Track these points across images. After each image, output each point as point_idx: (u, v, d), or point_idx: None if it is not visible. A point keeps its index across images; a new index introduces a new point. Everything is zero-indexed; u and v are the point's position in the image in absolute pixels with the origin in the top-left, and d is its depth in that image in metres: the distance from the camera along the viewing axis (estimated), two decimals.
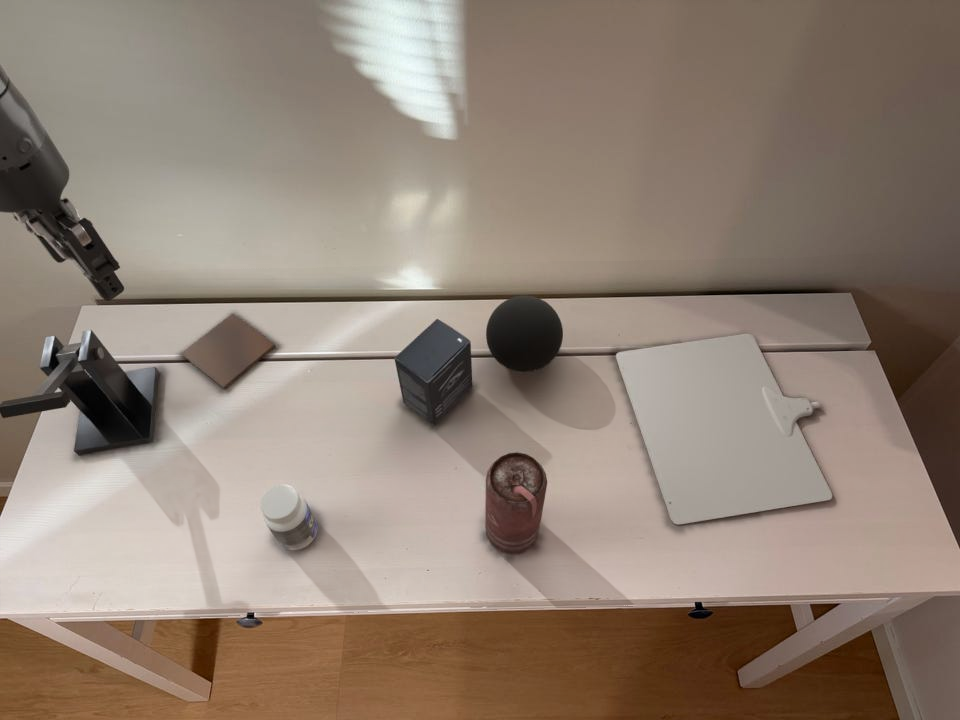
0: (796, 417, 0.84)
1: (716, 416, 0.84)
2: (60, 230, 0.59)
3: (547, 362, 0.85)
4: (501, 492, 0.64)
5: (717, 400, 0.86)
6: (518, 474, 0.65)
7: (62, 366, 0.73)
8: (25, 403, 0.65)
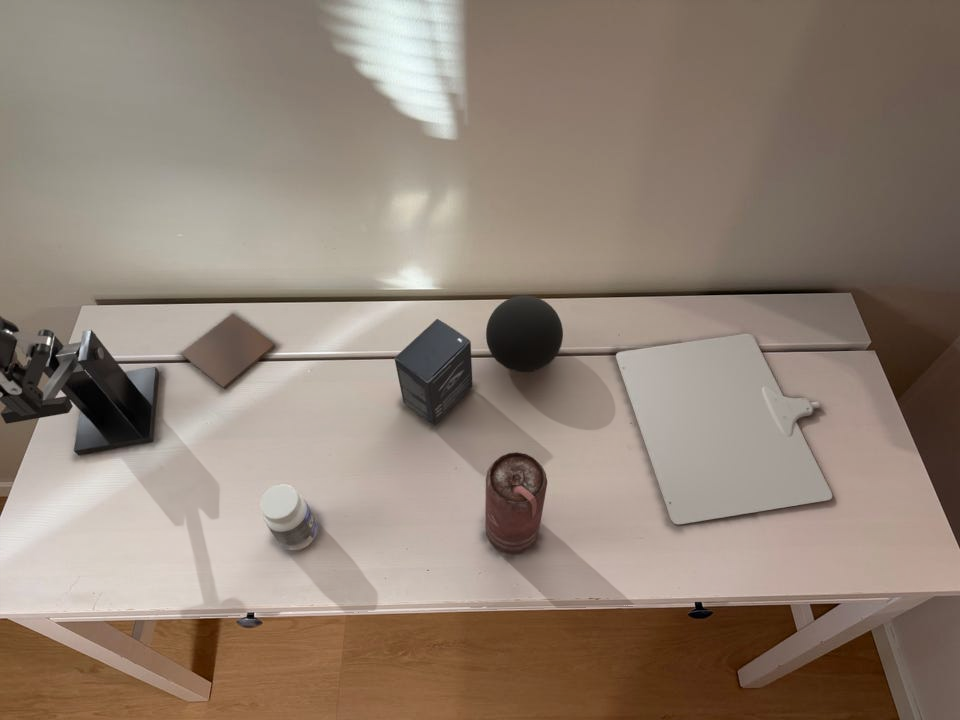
0: (796, 417, 0.84)
1: (716, 416, 0.84)
2: (15, 342, 0.58)
3: (547, 362, 0.85)
4: (501, 492, 0.64)
5: (717, 400, 0.86)
6: (518, 474, 0.65)
7: (63, 368, 0.73)
8: None
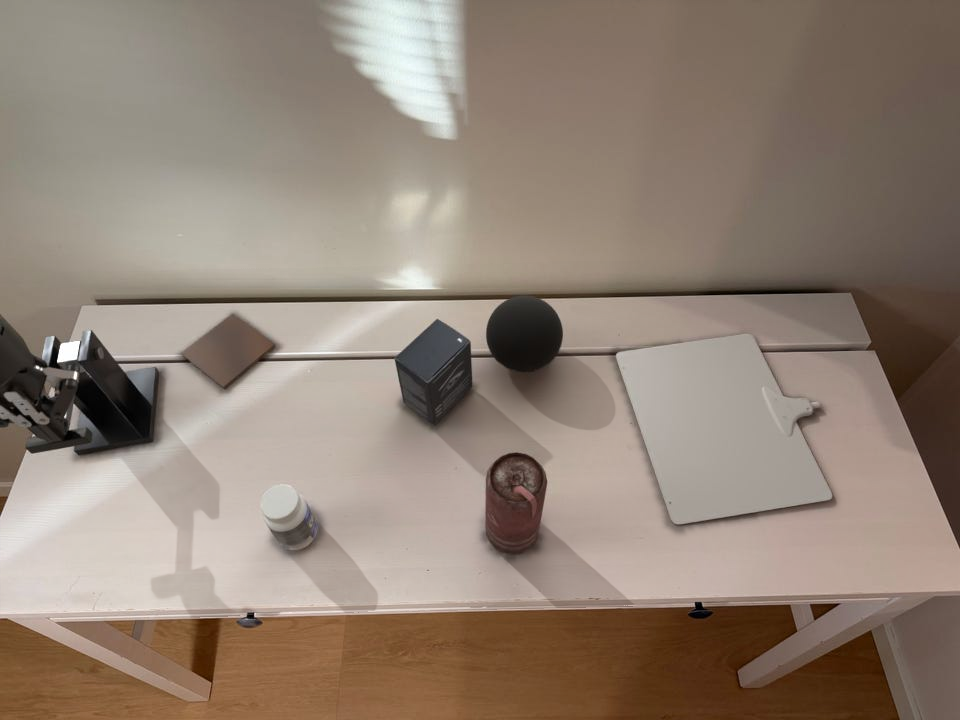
0: (796, 417, 0.84)
1: (716, 416, 0.84)
2: (45, 378, 0.61)
3: (547, 362, 0.85)
4: (501, 492, 0.64)
5: (717, 400, 0.86)
6: (518, 474, 0.65)
7: None
8: (51, 443, 0.69)
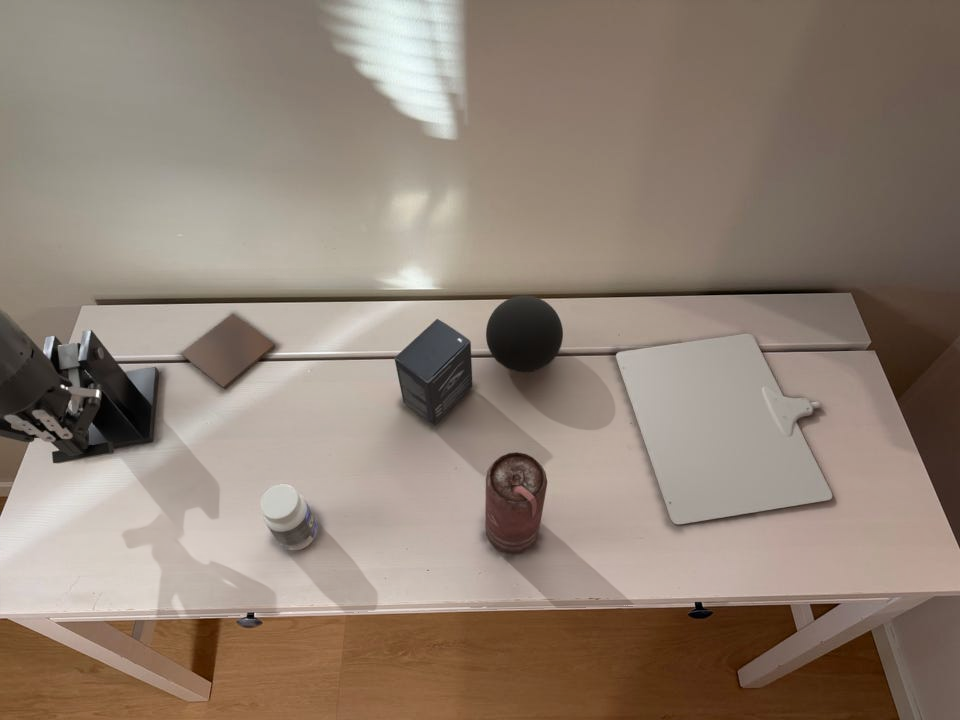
0: (796, 417, 0.84)
1: (716, 416, 0.84)
2: (70, 396, 0.65)
3: (547, 362, 0.85)
4: (501, 492, 0.64)
5: (717, 400, 0.86)
6: (518, 474, 0.65)
7: (75, 385, 0.75)
8: (77, 458, 0.74)
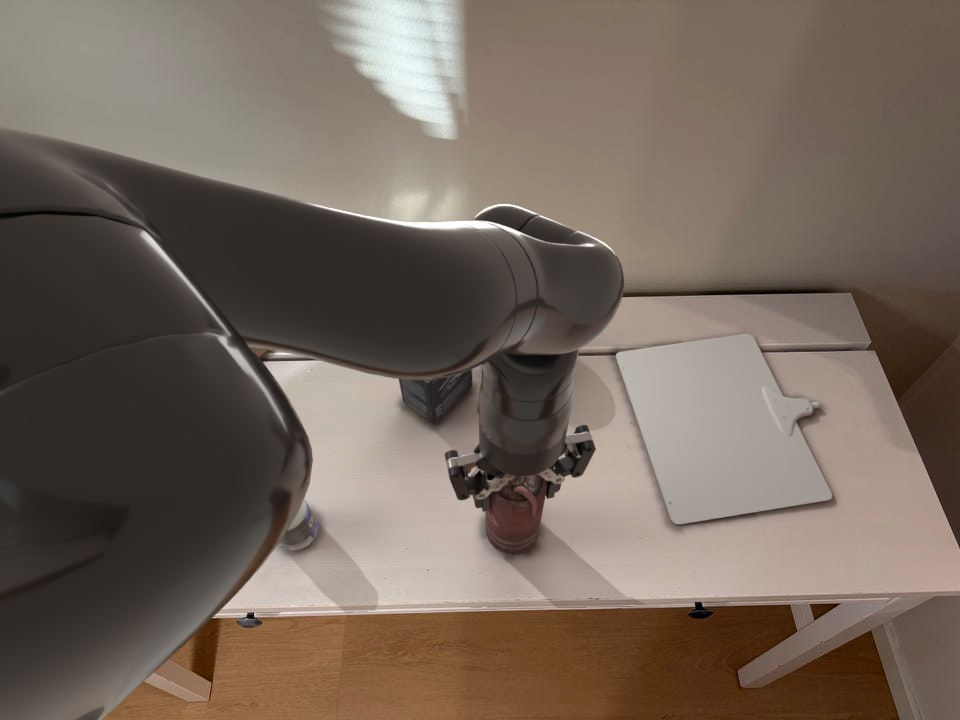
0: (796, 417, 0.84)
1: (716, 416, 0.84)
2: None
3: None
4: (501, 492, 0.64)
5: (717, 400, 0.86)
6: None
7: None
8: None
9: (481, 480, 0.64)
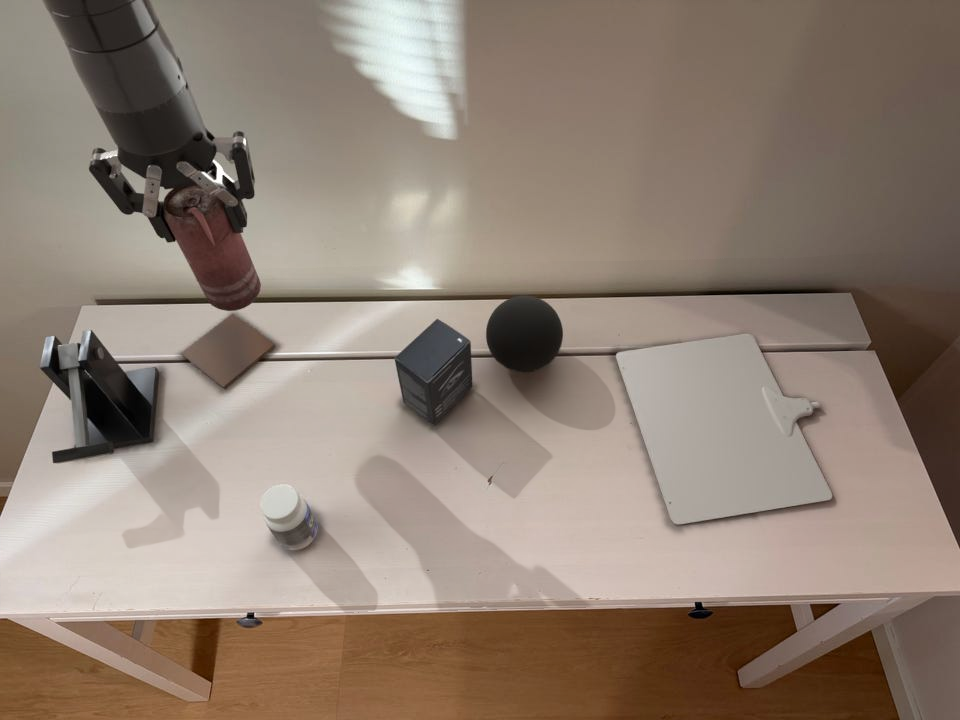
0: (796, 417, 0.84)
1: (716, 416, 0.84)
2: (215, 153, 0.60)
3: (547, 362, 0.85)
4: (173, 211, 0.64)
5: (717, 400, 0.86)
6: (195, 198, 0.65)
7: (75, 385, 0.75)
8: (77, 458, 0.74)
9: None
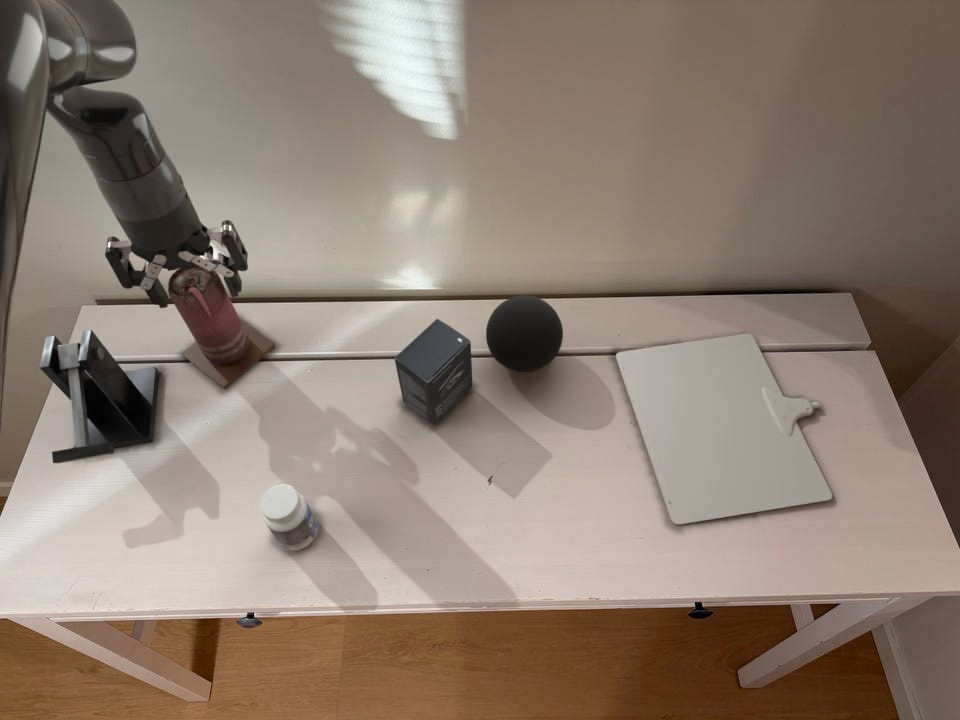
0: (796, 417, 0.84)
1: (716, 416, 0.84)
2: (209, 242, 0.75)
3: (547, 362, 0.85)
4: (176, 291, 0.79)
5: (717, 400, 0.86)
6: (194, 278, 0.80)
7: (75, 385, 0.75)
8: (77, 458, 0.74)
9: None
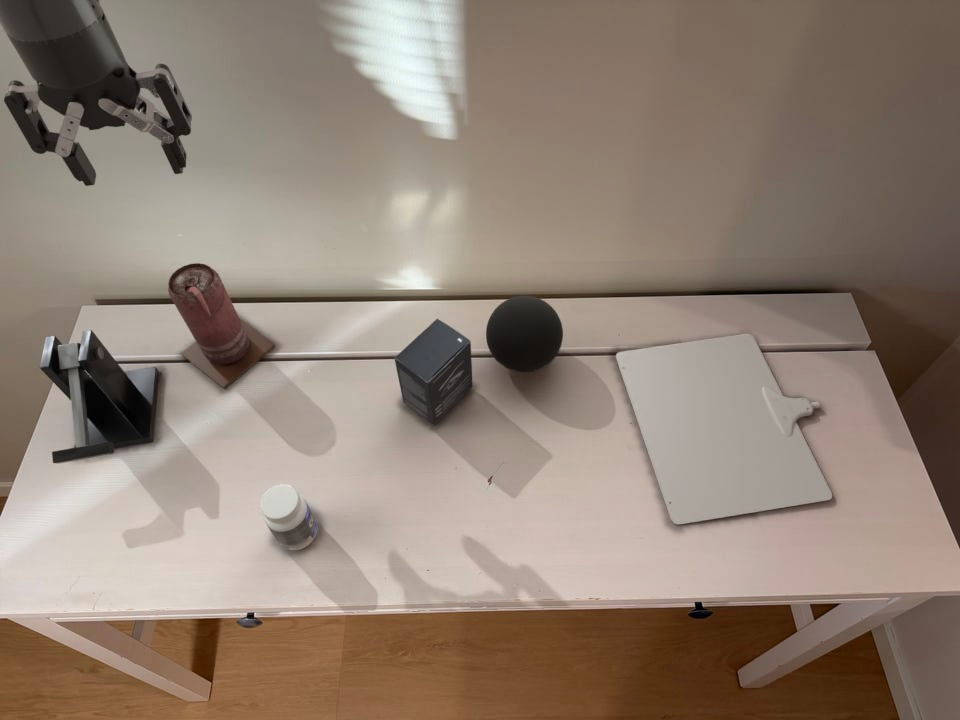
0: (796, 417, 0.84)
1: (716, 416, 0.84)
2: (139, 91, 0.60)
3: (547, 362, 0.85)
4: (176, 290, 0.79)
5: (717, 400, 0.86)
6: (194, 278, 0.80)
7: (75, 385, 0.75)
8: (77, 458, 0.74)
9: None
